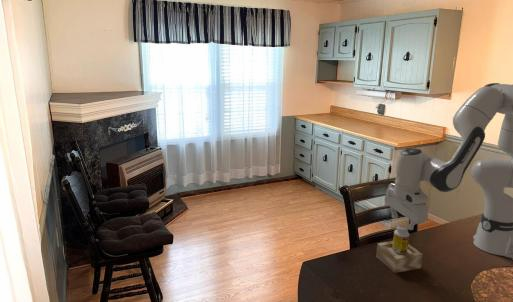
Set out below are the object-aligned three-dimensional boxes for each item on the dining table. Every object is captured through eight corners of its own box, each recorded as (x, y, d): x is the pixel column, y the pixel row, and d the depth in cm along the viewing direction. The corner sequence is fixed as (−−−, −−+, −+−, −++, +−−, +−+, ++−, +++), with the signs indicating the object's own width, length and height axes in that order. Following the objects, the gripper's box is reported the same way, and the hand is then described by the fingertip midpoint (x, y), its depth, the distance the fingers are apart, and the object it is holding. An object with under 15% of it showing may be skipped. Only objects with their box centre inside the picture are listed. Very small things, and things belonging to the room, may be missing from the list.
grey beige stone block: (400, 252, 149) (402, 239, 147) (420, 268, 137) (422, 254, 136) (375, 256, 145) (377, 243, 144) (394, 272, 134) (396, 258, 133)
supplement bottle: (401, 256, 136) (404, 232, 134) (389, 249, 141) (391, 226, 138) (409, 252, 139) (413, 228, 137) (397, 246, 144) (400, 223, 141)
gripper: (382, 181, 143) (379, 212, 147) (417, 202, 124) (412, 237, 128) (396, 180, 145) (392, 211, 148) (432, 200, 126) (427, 234, 129)
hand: (401, 223), depth 138 cm, fingers open, 8 cm apart
